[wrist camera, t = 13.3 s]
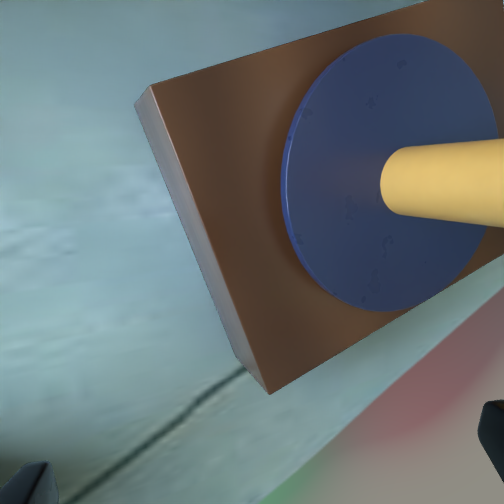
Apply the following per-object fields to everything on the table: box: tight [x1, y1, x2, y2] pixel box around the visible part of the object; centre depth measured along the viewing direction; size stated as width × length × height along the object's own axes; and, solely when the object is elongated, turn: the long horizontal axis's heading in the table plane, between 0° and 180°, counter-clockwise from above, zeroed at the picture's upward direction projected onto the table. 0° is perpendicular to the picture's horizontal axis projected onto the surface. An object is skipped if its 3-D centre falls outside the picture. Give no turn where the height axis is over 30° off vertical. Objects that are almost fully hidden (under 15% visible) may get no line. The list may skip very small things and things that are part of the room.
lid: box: [281, 34, 504, 312], centre depth 14 cm, size 11×11×8 cm
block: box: [134, 0, 504, 395], centre depth 20 cm, size 17×13×4 cm
